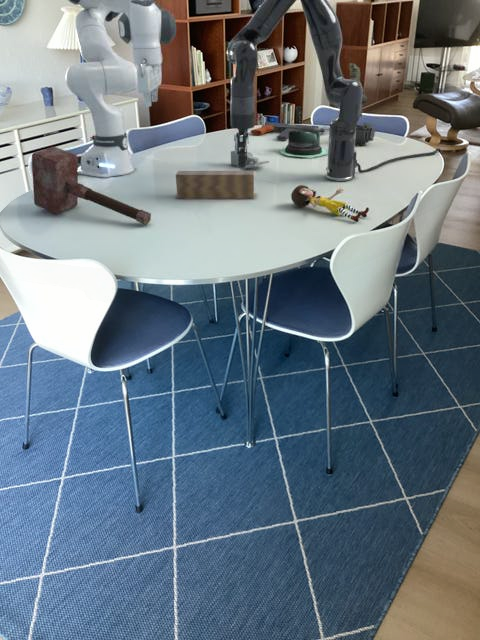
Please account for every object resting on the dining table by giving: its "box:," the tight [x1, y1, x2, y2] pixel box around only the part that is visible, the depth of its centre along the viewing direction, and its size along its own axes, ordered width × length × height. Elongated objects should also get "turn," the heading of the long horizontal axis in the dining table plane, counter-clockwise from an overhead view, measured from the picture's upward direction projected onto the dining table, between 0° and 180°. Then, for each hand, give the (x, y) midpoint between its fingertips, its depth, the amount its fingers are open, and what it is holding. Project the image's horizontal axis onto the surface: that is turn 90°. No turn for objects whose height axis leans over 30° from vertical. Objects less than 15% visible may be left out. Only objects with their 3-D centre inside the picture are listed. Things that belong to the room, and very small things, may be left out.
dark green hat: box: [279, 128, 328, 159], centre depth 234 cm, size 15×19×20 cm
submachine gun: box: [250, 121, 326, 141], centre depth 264 cm, size 32×3×25 cm
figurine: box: [290, 184, 370, 223], centre depth 170 cm, size 13×8×25 cm
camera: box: [230, 132, 270, 170], centre depth 214 cm, size 9×12×15 cm
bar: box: [175, 170, 255, 200], centre depth 185 cm, size 26×5×8 cm, turn 86°
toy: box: [355, 122, 376, 146], centre depth 244 cm, size 9×9×15 cm
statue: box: [348, 62, 368, 125], centre depth 262 cm, size 11×9×30 cm
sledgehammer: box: [31, 146, 152, 226], centre depth 169 cm, size 17×10×40 cm
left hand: (151, 103), depth 184 cm, fingers open, 8 cm apart
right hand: (242, 163), depth 180 cm, fingers open, 8 cm apart
